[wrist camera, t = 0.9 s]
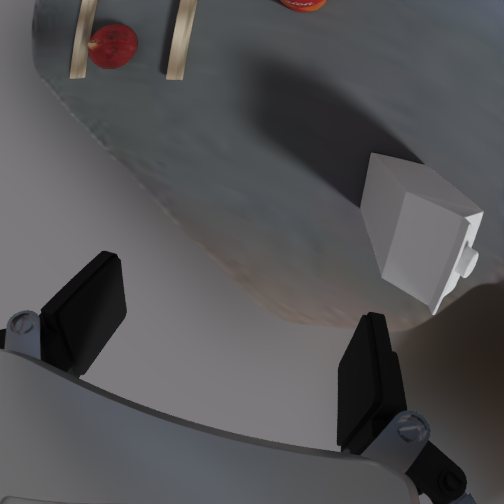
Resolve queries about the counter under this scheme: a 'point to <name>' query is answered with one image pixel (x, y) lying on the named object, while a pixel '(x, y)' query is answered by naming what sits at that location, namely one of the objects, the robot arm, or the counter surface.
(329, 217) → the counter surface
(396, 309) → the counter surface
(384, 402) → the robot arm
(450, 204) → the milk carton
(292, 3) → the paper cup
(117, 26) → the red apple
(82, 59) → the wooden u-shaped frame
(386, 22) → the counter surface
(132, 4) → the counter surface
